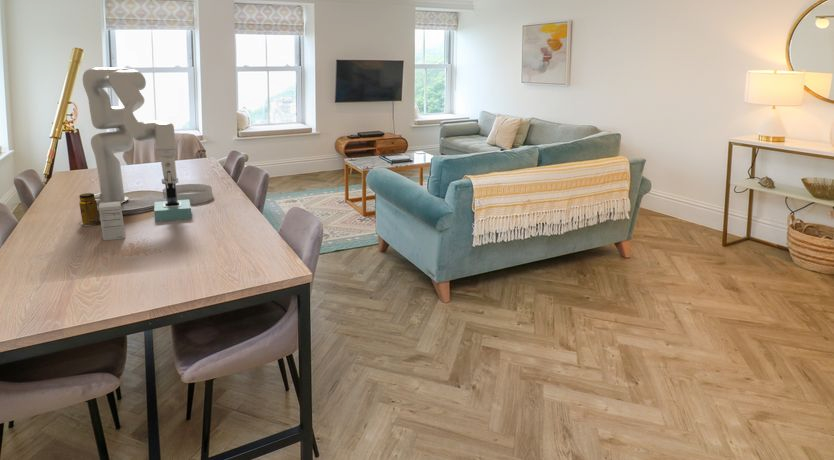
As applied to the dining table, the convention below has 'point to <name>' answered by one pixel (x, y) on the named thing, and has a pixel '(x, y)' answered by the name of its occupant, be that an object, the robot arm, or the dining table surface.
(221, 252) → the dining table surface
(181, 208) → the dock
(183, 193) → the dish
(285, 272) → the dining table surface
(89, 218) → the condiment
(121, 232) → the supplement box
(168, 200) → the bolt
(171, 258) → the dining table surface
